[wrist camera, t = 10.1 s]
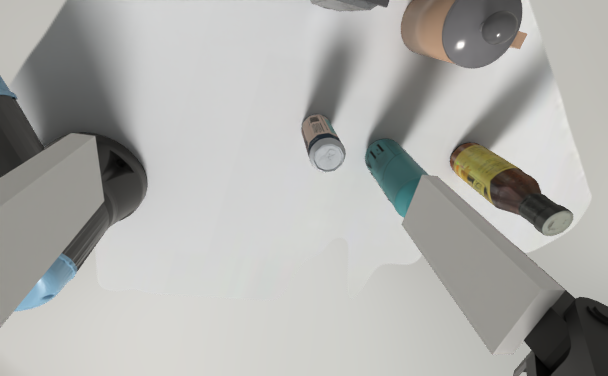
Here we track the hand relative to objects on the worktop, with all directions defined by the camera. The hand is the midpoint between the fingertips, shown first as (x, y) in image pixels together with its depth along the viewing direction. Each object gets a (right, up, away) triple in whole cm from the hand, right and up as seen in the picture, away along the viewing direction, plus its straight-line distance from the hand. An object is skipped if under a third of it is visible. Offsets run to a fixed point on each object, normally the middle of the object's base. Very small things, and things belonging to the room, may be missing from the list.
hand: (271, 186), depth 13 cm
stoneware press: (+20, +23, +31) cm, 43 cm away
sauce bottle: (+30, +5, +42) cm, 52 cm away
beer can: (+3, +10, +37) cm, 38 cm away
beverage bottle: (+14, +6, +40) cm, 43 cm away
